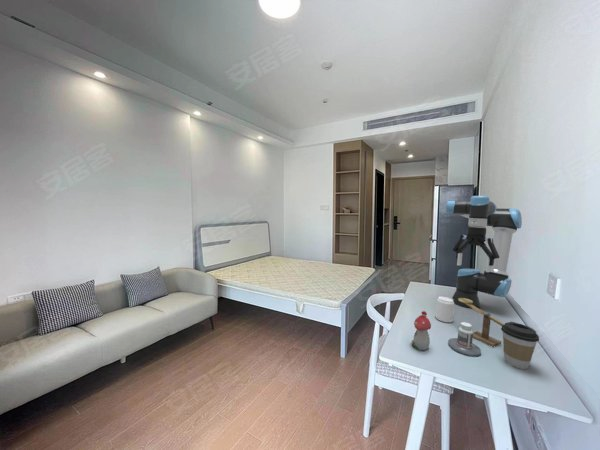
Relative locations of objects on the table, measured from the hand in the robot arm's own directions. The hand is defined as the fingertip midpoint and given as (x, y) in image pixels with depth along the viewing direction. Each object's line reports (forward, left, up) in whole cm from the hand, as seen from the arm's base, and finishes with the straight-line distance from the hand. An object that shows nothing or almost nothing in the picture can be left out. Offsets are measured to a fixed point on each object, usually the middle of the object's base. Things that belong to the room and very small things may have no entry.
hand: (473, 268), depth 123 cm
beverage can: (+2, -11, -32) cm, 34 cm away
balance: (+4, +10, -32) cm, 33 cm away
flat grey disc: (+21, +10, -32) cm, 39 cm away
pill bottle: (+21, +10, -31) cm, 38 cm away
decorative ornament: (+38, +1, -32) cm, 50 cm away
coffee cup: (+12, +25, -32) cm, 42 cm away
